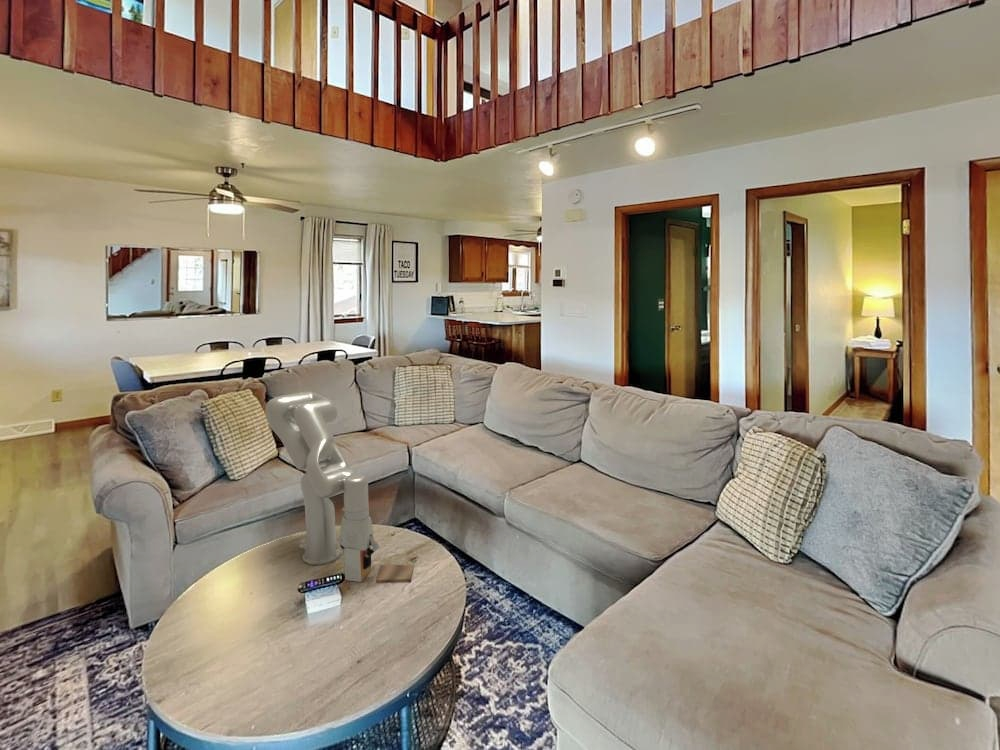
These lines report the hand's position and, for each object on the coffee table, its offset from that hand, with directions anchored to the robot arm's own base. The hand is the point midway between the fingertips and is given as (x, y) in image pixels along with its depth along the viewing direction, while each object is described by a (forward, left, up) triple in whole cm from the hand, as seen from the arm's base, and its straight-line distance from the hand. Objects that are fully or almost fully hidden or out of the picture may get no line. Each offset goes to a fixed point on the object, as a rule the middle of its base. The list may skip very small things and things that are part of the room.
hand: (358, 564), depth 172 cm
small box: (0, 0, -4) cm, 4 cm away
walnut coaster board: (+11, +4, -4) cm, 12 cm away
